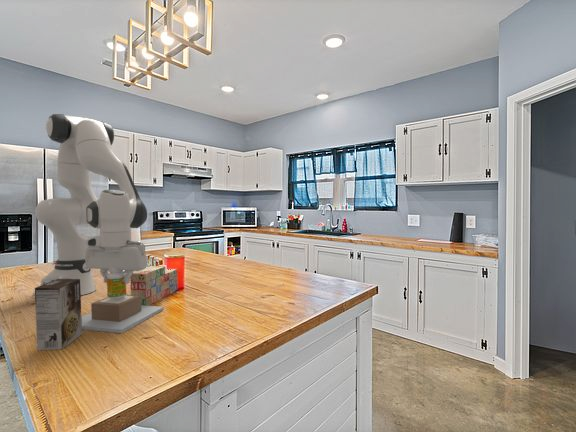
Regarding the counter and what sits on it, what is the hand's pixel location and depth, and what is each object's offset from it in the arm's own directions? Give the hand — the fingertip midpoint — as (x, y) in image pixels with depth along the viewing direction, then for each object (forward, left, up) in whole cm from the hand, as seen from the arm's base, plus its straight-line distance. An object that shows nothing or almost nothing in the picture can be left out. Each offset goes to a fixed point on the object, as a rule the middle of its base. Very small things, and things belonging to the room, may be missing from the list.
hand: (116, 283), depth 100 cm
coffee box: (-2, -18, -12) cm, 22 cm away
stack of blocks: (-1, +22, -12) cm, 25 cm away
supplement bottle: (0, 0, -5) cm, 5 cm away
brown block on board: (0, 0, -11) cm, 11 cm away
